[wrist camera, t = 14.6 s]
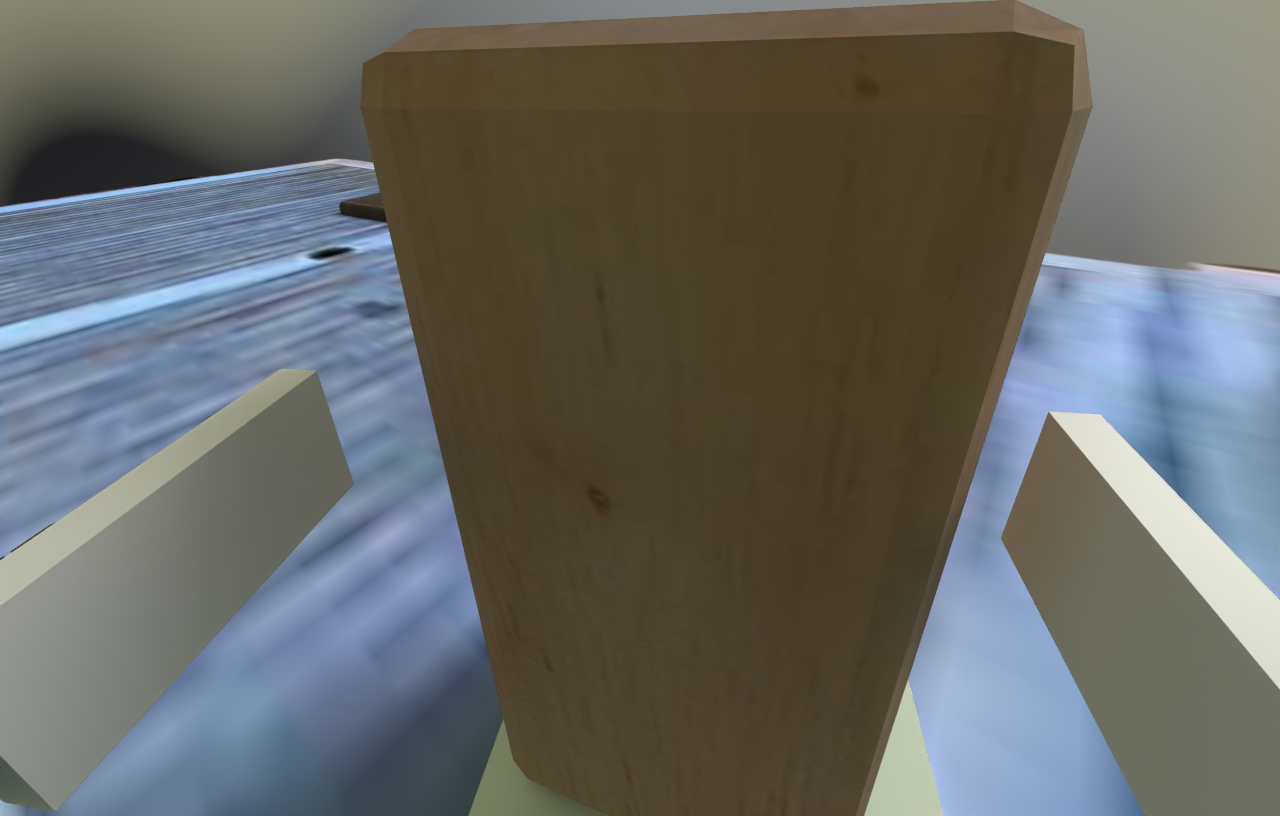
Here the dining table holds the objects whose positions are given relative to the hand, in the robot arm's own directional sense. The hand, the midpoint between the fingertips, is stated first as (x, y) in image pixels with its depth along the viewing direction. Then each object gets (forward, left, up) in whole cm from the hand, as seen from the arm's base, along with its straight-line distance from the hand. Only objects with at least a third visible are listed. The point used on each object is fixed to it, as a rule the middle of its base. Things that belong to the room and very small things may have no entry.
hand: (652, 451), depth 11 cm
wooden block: (-1, -4, -13) cm, 14 cm away
